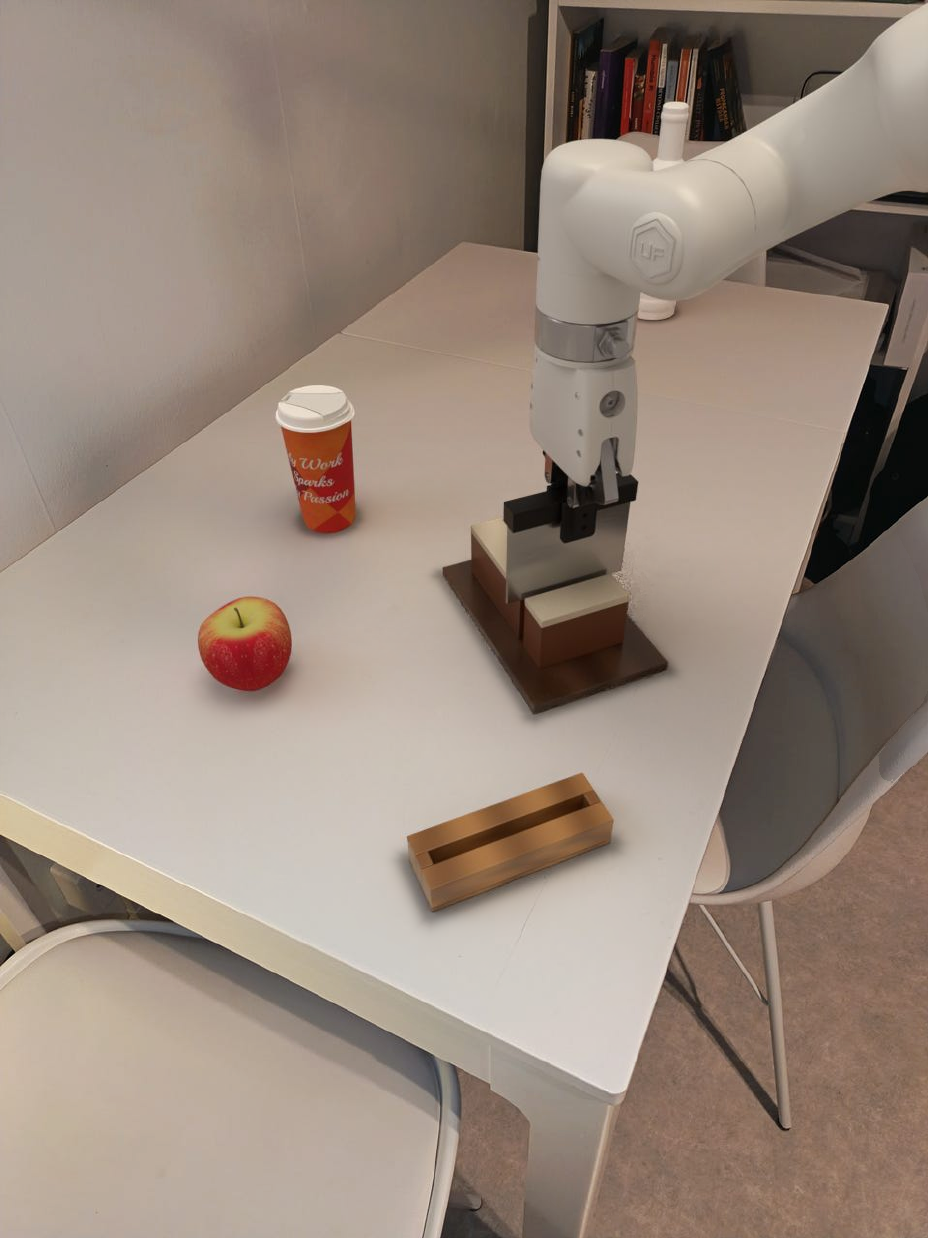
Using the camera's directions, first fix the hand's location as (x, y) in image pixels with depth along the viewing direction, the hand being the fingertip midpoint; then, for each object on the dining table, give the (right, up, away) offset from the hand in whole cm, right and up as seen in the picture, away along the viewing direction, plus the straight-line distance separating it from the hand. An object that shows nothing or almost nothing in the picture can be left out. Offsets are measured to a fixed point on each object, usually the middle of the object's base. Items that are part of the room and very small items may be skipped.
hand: (569, 528), depth 78 cm
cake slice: (+1, -10, +6) cm, 12 cm away
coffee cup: (-25, +4, +25) cm, 35 cm away
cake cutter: (0, -5, +4) cm, 7 cm away
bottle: (+21, +42, +67) cm, 82 cm away
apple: (-29, -14, +5) cm, 33 cm away
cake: (-1, -7, +11) cm, 14 cm away
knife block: (-6, -26, -9) cm, 28 cm away
